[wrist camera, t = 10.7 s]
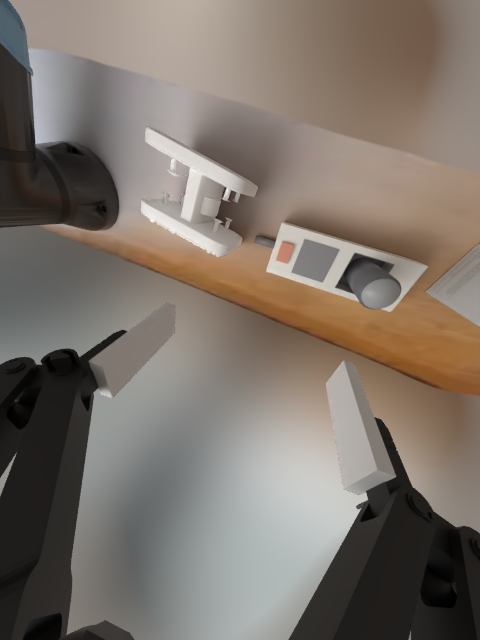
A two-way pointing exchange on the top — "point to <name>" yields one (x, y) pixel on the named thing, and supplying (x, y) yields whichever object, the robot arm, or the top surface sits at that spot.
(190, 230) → the cable organizer
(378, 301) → the plug
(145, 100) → the top surface
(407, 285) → the power strip
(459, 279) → the supplement box
